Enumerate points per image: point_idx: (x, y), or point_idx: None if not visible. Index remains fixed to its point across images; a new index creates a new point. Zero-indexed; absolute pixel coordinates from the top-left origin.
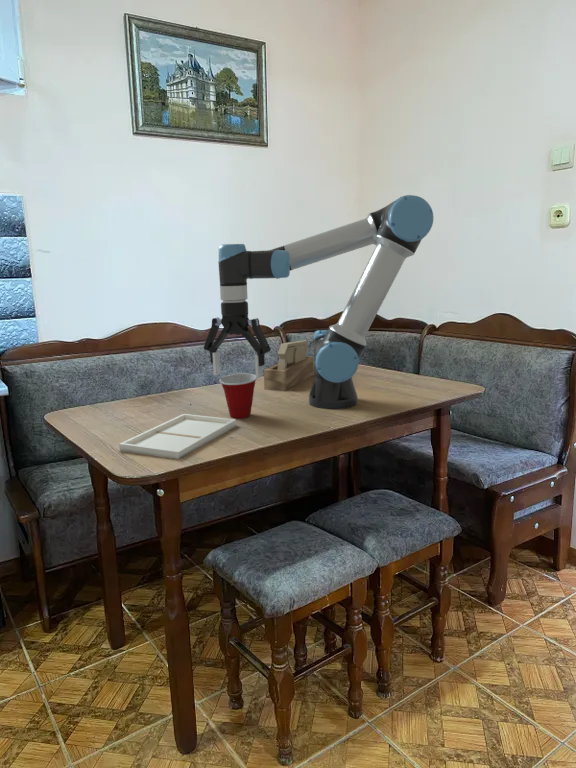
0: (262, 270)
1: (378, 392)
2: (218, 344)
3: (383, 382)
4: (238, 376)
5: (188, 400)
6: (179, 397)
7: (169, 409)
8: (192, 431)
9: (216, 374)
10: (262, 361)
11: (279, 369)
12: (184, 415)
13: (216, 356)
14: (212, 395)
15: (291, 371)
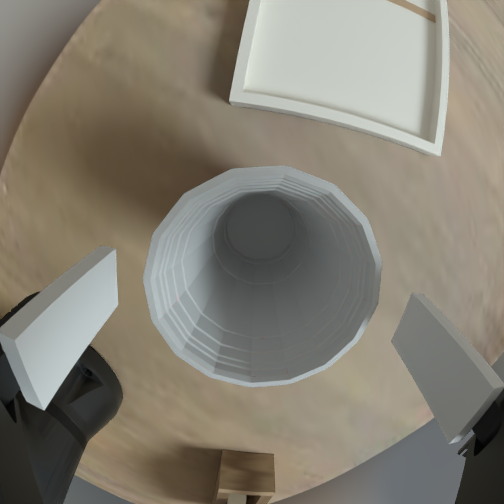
0: None
1: None
2: (494, 469)
3: (86, 463)
4: (291, 365)
5: None
6: None
7: (477, 270)
8: (346, 12)
9: (411, 300)
10: (14, 308)
11: (241, 497)
12: (433, 144)
13: (463, 387)
14: (390, 402)
15: (216, 494)
